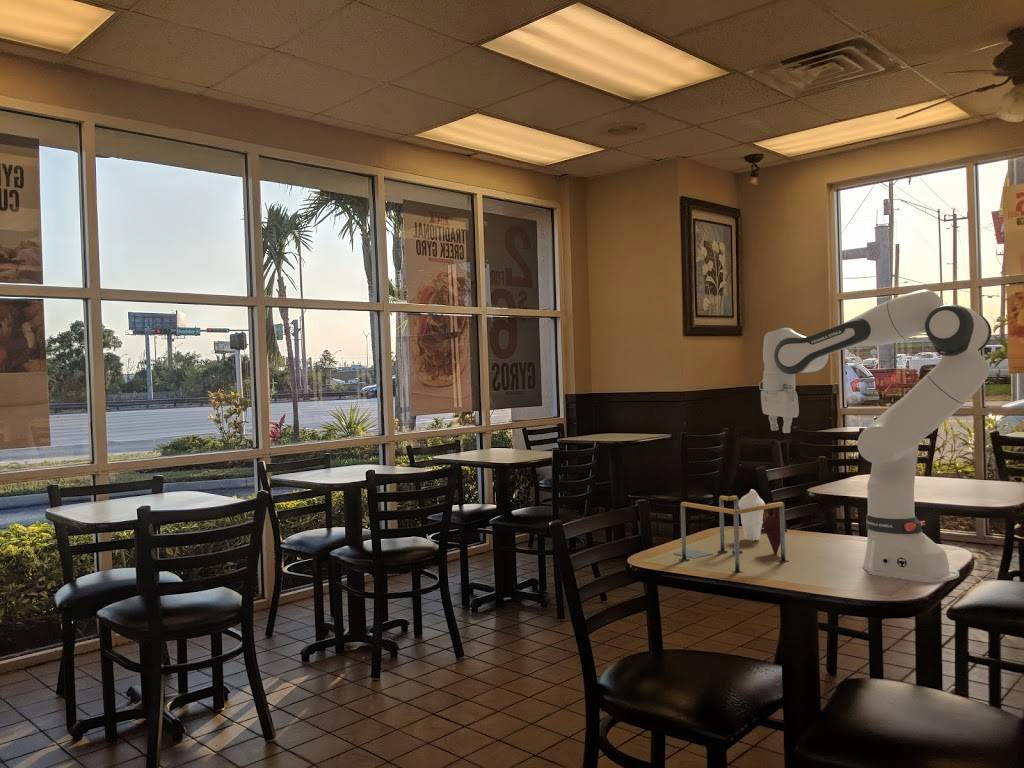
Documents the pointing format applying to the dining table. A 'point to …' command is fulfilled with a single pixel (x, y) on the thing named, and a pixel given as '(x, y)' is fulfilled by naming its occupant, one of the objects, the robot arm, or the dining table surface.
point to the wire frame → (736, 525)
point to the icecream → (773, 527)
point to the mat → (694, 553)
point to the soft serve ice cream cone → (751, 515)
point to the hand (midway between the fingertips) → (780, 431)
